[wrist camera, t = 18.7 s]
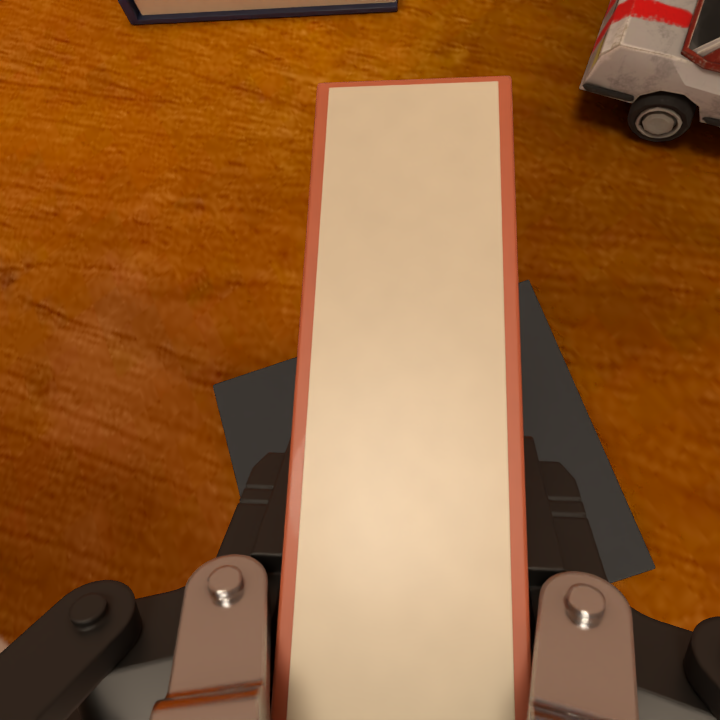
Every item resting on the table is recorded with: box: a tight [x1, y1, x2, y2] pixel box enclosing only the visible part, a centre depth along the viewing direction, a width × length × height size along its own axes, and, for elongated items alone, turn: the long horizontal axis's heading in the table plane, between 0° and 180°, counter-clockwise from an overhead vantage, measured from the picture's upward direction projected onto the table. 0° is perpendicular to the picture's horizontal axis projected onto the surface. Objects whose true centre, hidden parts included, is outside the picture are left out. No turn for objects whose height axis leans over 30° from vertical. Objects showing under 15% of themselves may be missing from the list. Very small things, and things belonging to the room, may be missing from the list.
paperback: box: [270, 76, 531, 720], centre depth 16 cm, size 4×11×14 cm, turn 178°
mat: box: [213, 280, 655, 583], centre depth 24 cm, size 14×12×1 cm
